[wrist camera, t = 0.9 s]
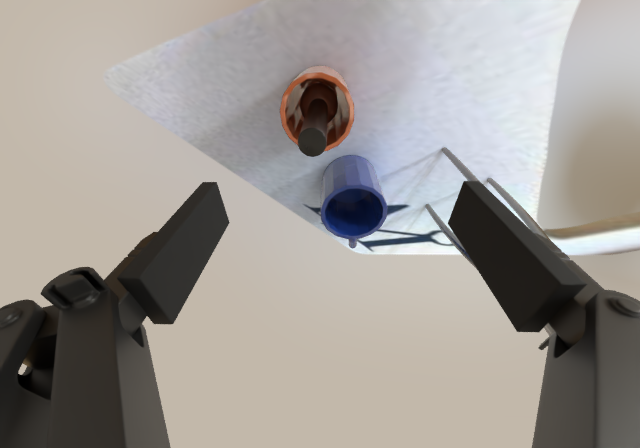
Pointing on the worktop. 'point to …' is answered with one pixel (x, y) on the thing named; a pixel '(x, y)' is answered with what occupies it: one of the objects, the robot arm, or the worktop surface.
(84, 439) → the robot arm
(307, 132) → the long black cylinder
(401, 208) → the worktop surface
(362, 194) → the mug
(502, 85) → the worktop surface
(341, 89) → the crock
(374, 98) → the worktop surface
